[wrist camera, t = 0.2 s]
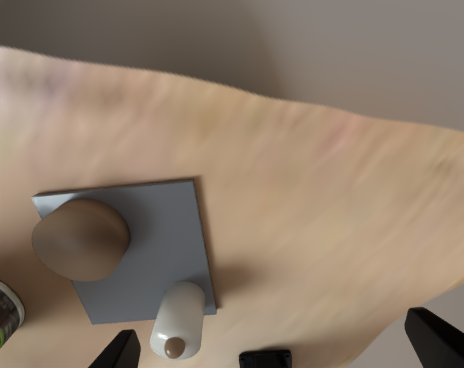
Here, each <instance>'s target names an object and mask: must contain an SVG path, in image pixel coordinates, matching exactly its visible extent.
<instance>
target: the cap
mask: <svg viewBox="0 0 464 368" xmlns="http://www.w3.org/2000/svg"><path fill="white" fill-rule="evenodd" d="M205 298H206V297H205V293H204V291H203V289H202V288H201V287H200V286H198V285H197V284H195V283H192V282H188V281H179V282H175V283H172V284H170V285H169V286H168V287H167V288H166V289H165V291H164V295H163V298H162V301H161V305H160V308H159V311H158V315H157V318H156V321H155V325H154V328H153V331H152V335H151V338H150V346H151V348H152V350H153V351H154V352H155V353H156V354H158V355H160V356H162V357H164V358H167V359H172V360H182V359H187V358H190V357H192V356H194V355H195V354H196V353H197V352H198V351H199V349H200V346H201V337H202V327H203V317H204V308H205Z"/></svg>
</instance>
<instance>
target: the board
mask: <svg viewBox="0 0 464 368" xmlns="http://www.w3.org/2000/svg"><path fill="white" fill-rule="evenodd" d="M31 198H32V200H33V202H34V204H35V206H36V208H37V211H38V213H39V215H40V217H41V219H43V218H45V217H46V216H47V215H49V214H50V213H51V212H52V211H54V210H55V209H56V208H58V207H59V206H60V205H62V204H63V203H65V202H67V201H69V200H72V199H77V198H90V199H95V200H98V201H101V202H104V203H106V204H108V205H110V206H111V207H113V208H114V209H115V210H117V211H118V212H119V213H120V214H121V215H122V216H123V218H124V219H125V220H126V222H127V224H128V226H129V229H130V233H131V240H130V245H129V247H128V249H127V251H126V252H125V254H124V256H123V257H122V259H121V261H120V262H119V264H118V266H117V267H116V269H115V270H114V271H113V272H112V273H111V274H110V275H109V276H107V277H105V278H103V279H100V280H96V281H88V282H84V281H75V280H71V281H72V283H73V285H74V288H75V290H76V292H77V294H78V296H79V298H80V300H81V302H82V304H83V306H84V308H85V310H86V312H87V315H88V317H89V319H90V321H91V323H92V324H105V323H117V322H129V321H141V320H153V319H156V318H157V315H158V311H159V308H160V305H161V301H162V298H163V295H164V291H165V289H166V288H167V287H168V286H169V285H170V284H172V283H175V282H179V281H188V282H192V283H195V284H197V285H198V286H200V287H201V288H202V289H203V291H204V293H205V297H206V298H205V308H204V315H214V314H216V313H217V308H216V303H215V297H214V292H213V286H212V280H211V275H210V269H209V263H208V258H207V252H206V247H205V241H204V235H203V230H202V224H201V218H200V213H199V207H198V202H197V196H196V190H195V185H194V179H188V180H178V181H167V182H157V183H147V184H137V185H127V186H117V187H107V188H96V189H86V190H76V191H66V192H56V193H46V194H36V195H34V196H33V197H31Z"/></svg>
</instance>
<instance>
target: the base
mask: <svg viewBox="0 0 464 368" xmlns="http://www.w3.org/2000/svg"><path fill="white" fill-rule="evenodd" d="M130 240H131V233H130V229H129V226H128V224H127V222H126V220H125V219H124V218H123V216H122V215H121V214H120V213H119V212H118V211H117V210H115V209H114V208H113V207H111V206H110V205H108V204H106V203H104V202H101V201H98V200H95V199H90V198H77V199H72V200H69V201H67V202H65V203H63V204H62V205H60V206H59V207H58V208H56V209H55V210H54V211H52V212H51V213H50V214H49V215H47V216H46V217H45V218H43V219H42V220H41V221H40V222H39V223H38V224H37V225H36V226H35V228H34V230H33V233H32V245H33V249H34V251H35V253H36V255H37V257H38V258H39V259H40V261H41V262H42V263H43V264H44V265H45V266H46V267H47V268H49V269H50V270H51V271H53V272H54V273H56V274H58V275H60V276H62V277H65V278H68V279H71V280H75V281H84V282H88V281H96V280H100V279H103V278H105V277H107V276H109V275H110V274H111V273H112V272H113V271H114V270H115V269H116V267H117V266H118V264H119V262H120V261H121V259H122V257H123V256H124V254H125V252H126V251H127V249H128V247H129V245H130Z"/></svg>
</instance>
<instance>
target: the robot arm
mask: <svg viewBox="0 0 464 368" xmlns="http://www.w3.org/2000/svg"><path fill="white" fill-rule="evenodd" d="M405 331H406V334H407V335H408V338H409V340H410V342H411V343H412V346H413V348H414V350H415V352H416V353H417V355H418V357H419V360H420V362H421V364H422V366H423V368H464V333H462V332H461V331H460V330H458V329H457V328H455V327H454V326H452V325H451V324H449V323H448V322H446V321H444V320H443V319H441V318H440V317H438V316H437V315H435V314H434V313H432V312H431V311H429V310H427V309H425V308H423V307H413V308H410V309H409V310H408V313H407V317H406V321H405ZM140 352H141V346H140V343H139V340H138V337H137V335H136V332H135V330H133V329H130V330H122V331H121V332H119V333H118V335H117V336H116V337H115V338H114V339H113V340H112V341H111V342H110V344H109V345H108V346H107V347H106V348H105V349H104V350H103V351H102V353H101V354H100V355H99V356H98V357H97V358H96V359H95V360H94V362H93V363H92V364H91V365H90V366H89V367H88V368H138V363H139V357H140ZM239 364H240V368H292V355H291V351H289V350H283V351H270V352H257V353H244V354H240V355H239Z"/></svg>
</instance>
